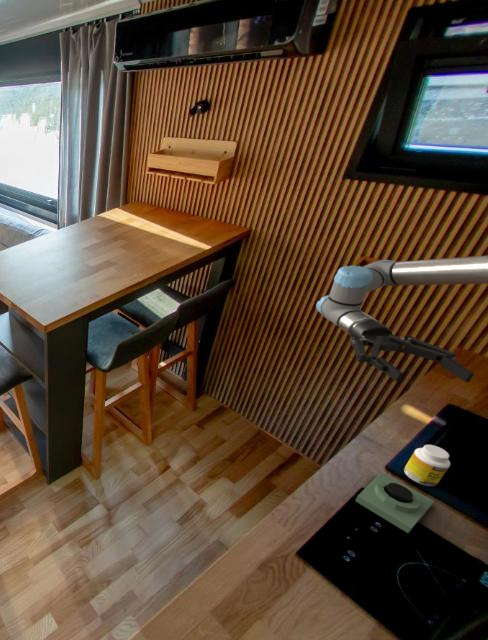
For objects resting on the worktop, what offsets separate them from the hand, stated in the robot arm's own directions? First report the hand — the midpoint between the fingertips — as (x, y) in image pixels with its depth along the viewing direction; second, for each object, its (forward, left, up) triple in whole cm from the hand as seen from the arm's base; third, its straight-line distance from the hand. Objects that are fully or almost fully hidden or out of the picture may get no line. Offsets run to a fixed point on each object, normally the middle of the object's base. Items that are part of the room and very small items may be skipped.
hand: (434, 377), depth 90 cm
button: (+4, +21, -22) cm, 31 cm away
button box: (+4, +21, -26) cm, 34 cm away
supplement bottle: (-3, +9, -26) cm, 28 cm away
